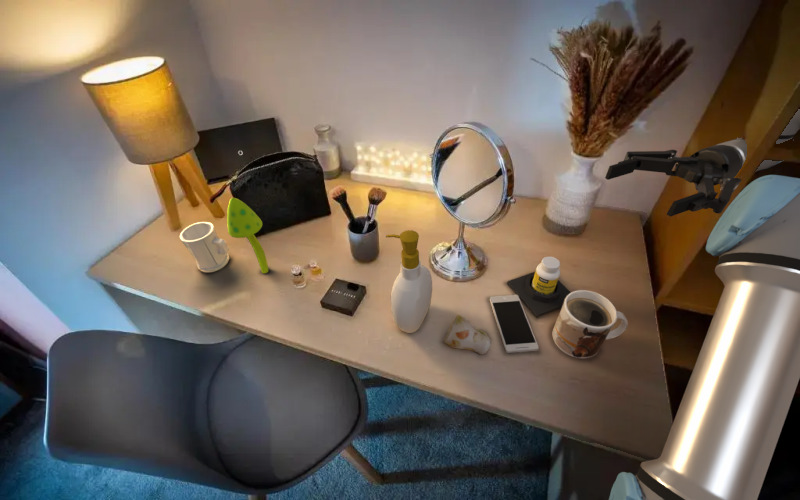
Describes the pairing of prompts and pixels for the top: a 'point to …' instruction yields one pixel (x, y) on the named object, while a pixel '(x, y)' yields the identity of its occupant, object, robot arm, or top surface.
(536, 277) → the supplement bottle
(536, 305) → the dock pad
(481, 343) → the patterned beanbag
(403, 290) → the soap bottle
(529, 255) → the top surface
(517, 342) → the smartphone
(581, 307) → the mug
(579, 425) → the top surface
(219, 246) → the cup
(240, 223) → the mushroom
